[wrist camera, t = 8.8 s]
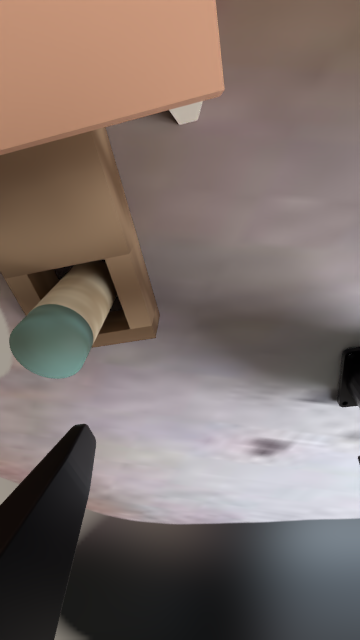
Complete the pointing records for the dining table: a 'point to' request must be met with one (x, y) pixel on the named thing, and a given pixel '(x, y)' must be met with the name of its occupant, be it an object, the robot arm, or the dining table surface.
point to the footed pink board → (102, 65)
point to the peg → (65, 322)
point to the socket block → (73, 229)
